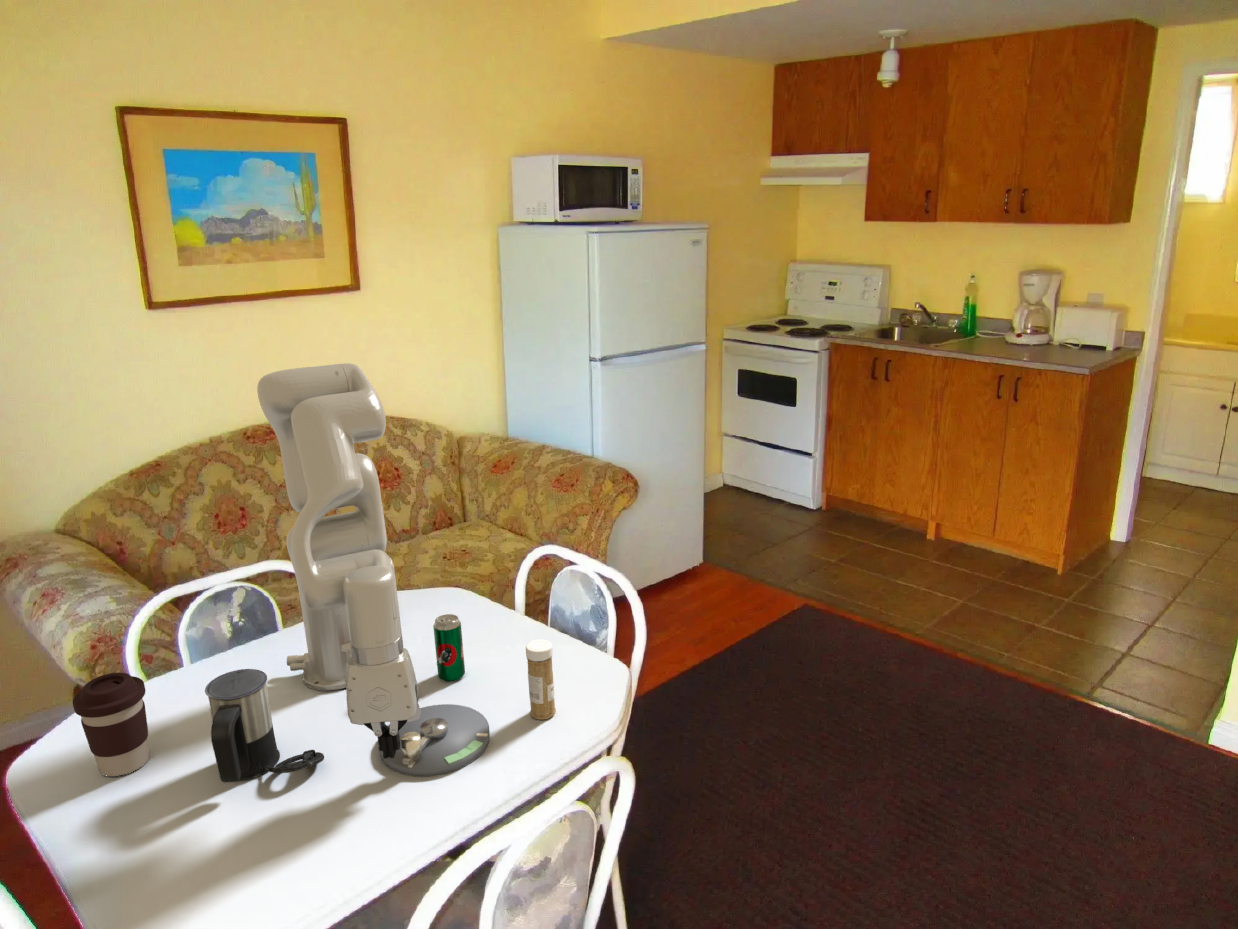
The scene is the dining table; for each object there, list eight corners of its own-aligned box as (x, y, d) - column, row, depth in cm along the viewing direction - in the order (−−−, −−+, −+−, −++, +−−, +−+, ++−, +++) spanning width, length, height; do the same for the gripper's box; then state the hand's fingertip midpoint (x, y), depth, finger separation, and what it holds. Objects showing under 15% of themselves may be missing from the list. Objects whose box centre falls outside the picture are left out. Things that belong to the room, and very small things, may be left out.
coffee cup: (88, 791, 134) (67, 707, 130) (91, 757, 143) (72, 677, 138) (159, 771, 138) (141, 689, 134) (158, 739, 147) (142, 661, 143)
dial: (371, 781, 135) (370, 772, 134) (388, 716, 152) (387, 707, 151) (487, 771, 136) (486, 762, 136) (491, 708, 154) (491, 699, 153)
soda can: (469, 677, 164) (464, 620, 160) (444, 686, 161) (439, 628, 157) (458, 666, 168) (453, 610, 164) (434, 674, 165) (428, 618, 161)
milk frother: (219, 754, 142) (205, 675, 138) (319, 731, 148) (308, 654, 144) (218, 807, 130) (201, 721, 126) (327, 779, 136) (315, 696, 131)
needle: (429, 722, 146) (427, 703, 145) (452, 726, 145) (450, 707, 144) (393, 762, 136) (391, 742, 135) (418, 766, 135) (416, 747, 134)
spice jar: (560, 715, 151) (557, 646, 147) (537, 724, 148) (533, 654, 145) (547, 703, 155) (544, 636, 151) (525, 711, 152) (520, 643, 148)
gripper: (320, 663, 126) (336, 771, 131) (423, 656, 127) (435, 764, 132) (333, 639, 133) (347, 742, 138) (431, 633, 134) (441, 736, 139)
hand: (390, 753), depth 135 cm, fingers closed
